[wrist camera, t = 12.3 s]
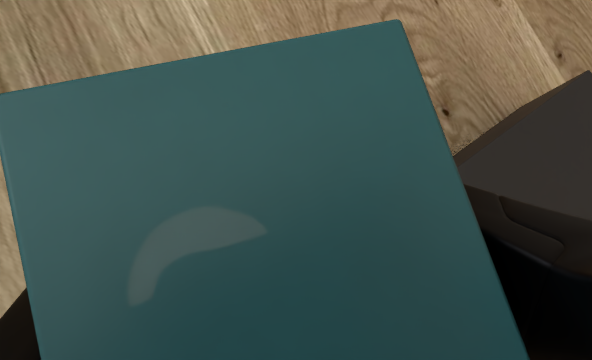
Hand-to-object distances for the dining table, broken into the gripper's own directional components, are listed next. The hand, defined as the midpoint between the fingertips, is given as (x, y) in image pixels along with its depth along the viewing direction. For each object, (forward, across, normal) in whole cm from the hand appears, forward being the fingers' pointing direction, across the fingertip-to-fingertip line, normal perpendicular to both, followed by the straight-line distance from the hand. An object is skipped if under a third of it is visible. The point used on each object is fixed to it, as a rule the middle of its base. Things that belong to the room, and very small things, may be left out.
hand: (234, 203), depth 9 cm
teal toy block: (+2, 0, +4) cm, 4 cm away
